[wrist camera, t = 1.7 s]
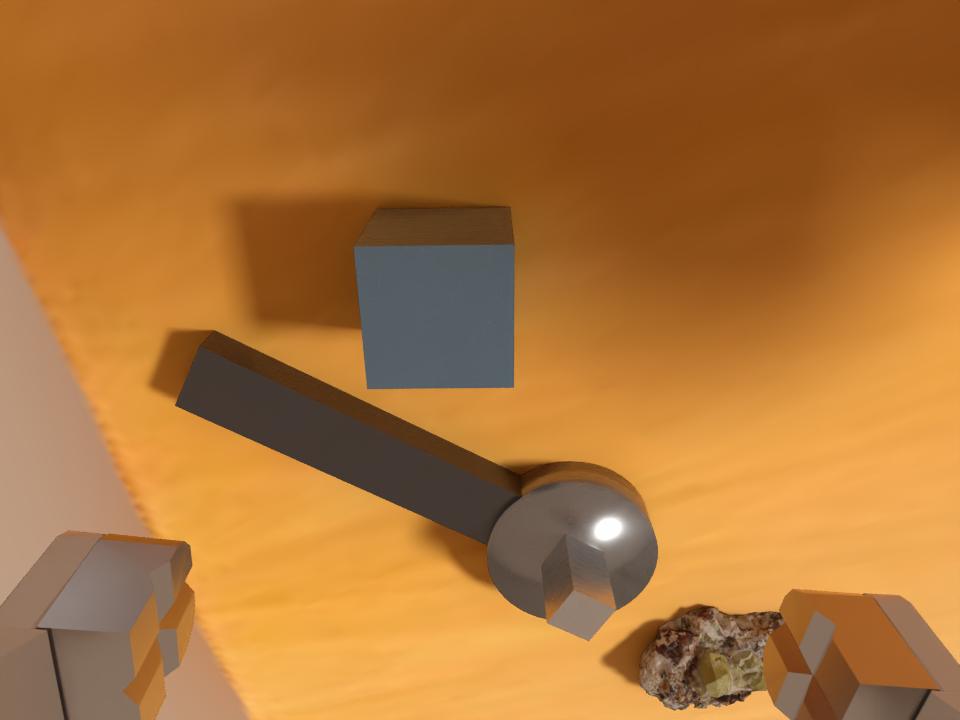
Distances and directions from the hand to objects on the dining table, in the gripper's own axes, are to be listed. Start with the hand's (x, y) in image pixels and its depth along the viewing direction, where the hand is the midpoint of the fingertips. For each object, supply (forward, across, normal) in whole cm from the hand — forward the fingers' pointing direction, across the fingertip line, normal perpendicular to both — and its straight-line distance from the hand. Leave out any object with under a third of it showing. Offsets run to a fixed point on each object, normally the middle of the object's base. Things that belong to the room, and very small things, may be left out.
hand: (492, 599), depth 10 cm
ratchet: (+24, 0, +14) cm, 28 cm away
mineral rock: (+24, -18, +26) cm, 40 cm away
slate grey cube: (+24, +1, +3) cm, 24 cm away
